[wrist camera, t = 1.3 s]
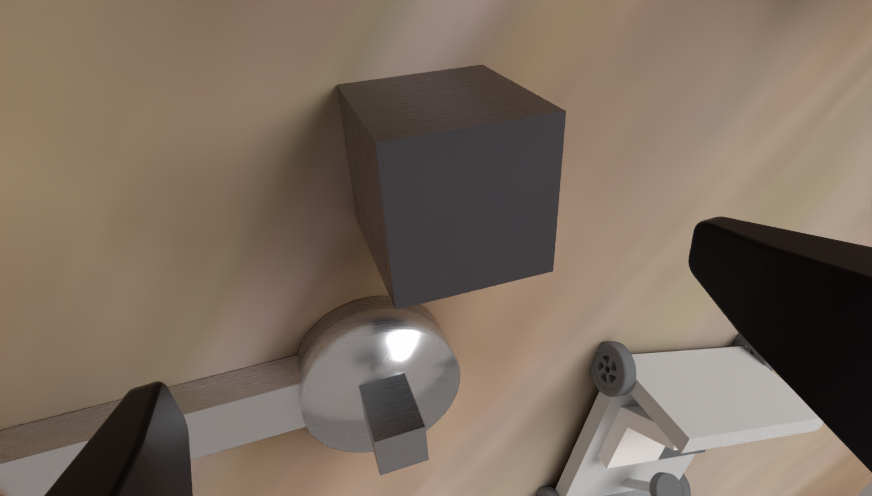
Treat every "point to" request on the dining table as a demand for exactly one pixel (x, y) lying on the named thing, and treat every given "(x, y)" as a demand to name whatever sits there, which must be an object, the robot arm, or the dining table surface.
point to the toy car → (674, 417)
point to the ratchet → (287, 398)
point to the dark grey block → (453, 179)
